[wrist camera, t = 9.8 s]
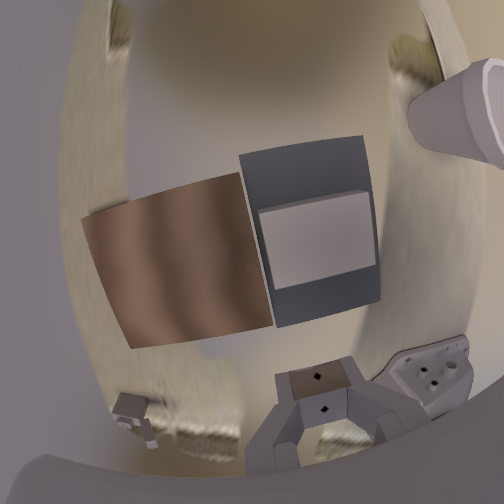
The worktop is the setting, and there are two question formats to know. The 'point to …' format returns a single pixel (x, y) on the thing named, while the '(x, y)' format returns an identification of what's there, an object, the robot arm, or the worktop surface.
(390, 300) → the worktop surface
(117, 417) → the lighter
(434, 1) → the worktop surface
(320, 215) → the tile
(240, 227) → the plate
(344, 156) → the mat
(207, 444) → the worktop surface
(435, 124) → the foam cup
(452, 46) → the worktop surface
